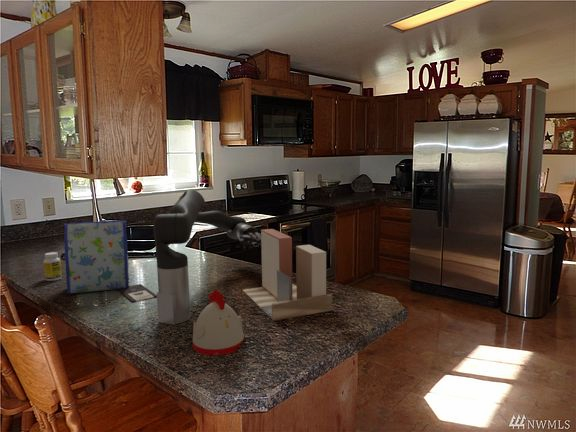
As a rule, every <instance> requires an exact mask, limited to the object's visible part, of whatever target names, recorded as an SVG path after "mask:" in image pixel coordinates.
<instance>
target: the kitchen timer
mask: <svg viewBox="0 0 576 432" xmlns="http://www.w3.org/2000/svg"><path fill="white" fill-rule="evenodd" d="M208 297H209V298H208V299H209V303H208V304H207V305H206V306H205V307H204V308H203V309H202V310H201V312H200V314H199V316H198V317H197V319H196V321H193V327H192V329H193V330H192V333H193V334H192V348H193V350H194V351H195V352H197V353H198V354H202V355H206V356H222V355H228V354H231V353H235V352H236V351H238V350H240V345H242V343H243V342H244V340H245V335H244V330H243V320H242V317H241V315H237V313H236V312H235V310H234V309H233V308H232V307H231V306H230V305H229V304H228V303H227V302H226V299H224V295H223V293H220V290H217V289H214V290H213V292H211V293H210V294H209V295H208Z"/></svg>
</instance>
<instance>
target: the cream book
mask: <svg viewBox="0 0 576 432" xmlns="http://www.w3.org/2000/svg"><path fill="white" fill-rule="evenodd" d="M295 252H296V254H295V259H296V260H295V262H296V263H295V266H296V267H295V269H296V270H295V271H296V276H295V277H296V282H295V283H296V284H295V285H296V286H297V299H301V298H307V297H313V296H320V295H326V294H327V251H324V250H323V249H320V248H318V247H315V246H314V245H312V244H302V245H296V246H295Z"/></svg>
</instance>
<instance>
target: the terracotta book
mask: <svg viewBox="0 0 576 432" xmlns="http://www.w3.org/2000/svg"><path fill="white" fill-rule="evenodd" d="M260 232H261V233H260V234H261V245H260V246H261V281H262V283H261V287H263V288H264V289H265V290H267V291H268V292H269V293H270V294H271V295H273V296H274V297H275V298H276V299H277V270H279V271H281V272H282V273H284V274H285V275H287V276H289V277H290V278H291V300H292V283H293V237H291V236H290V235H288V234H285V233H284V232H283V233H282V232H281V231H279V230H276V229H274V228H269V229H261V230H260Z"/></svg>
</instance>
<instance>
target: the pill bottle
mask: <svg viewBox="0 0 576 432" xmlns="http://www.w3.org/2000/svg"><path fill="white" fill-rule="evenodd" d="M58 256H59V254H58V252H57V251H56V252H55V251H52V252H47V253H44V260H43V270H44V272H43V273H44V280H45V281H48V282H53V281H59V280H60V279H62V278H63V276H62V275H63V274H62V263H61V258H60V257H58Z"/></svg>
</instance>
